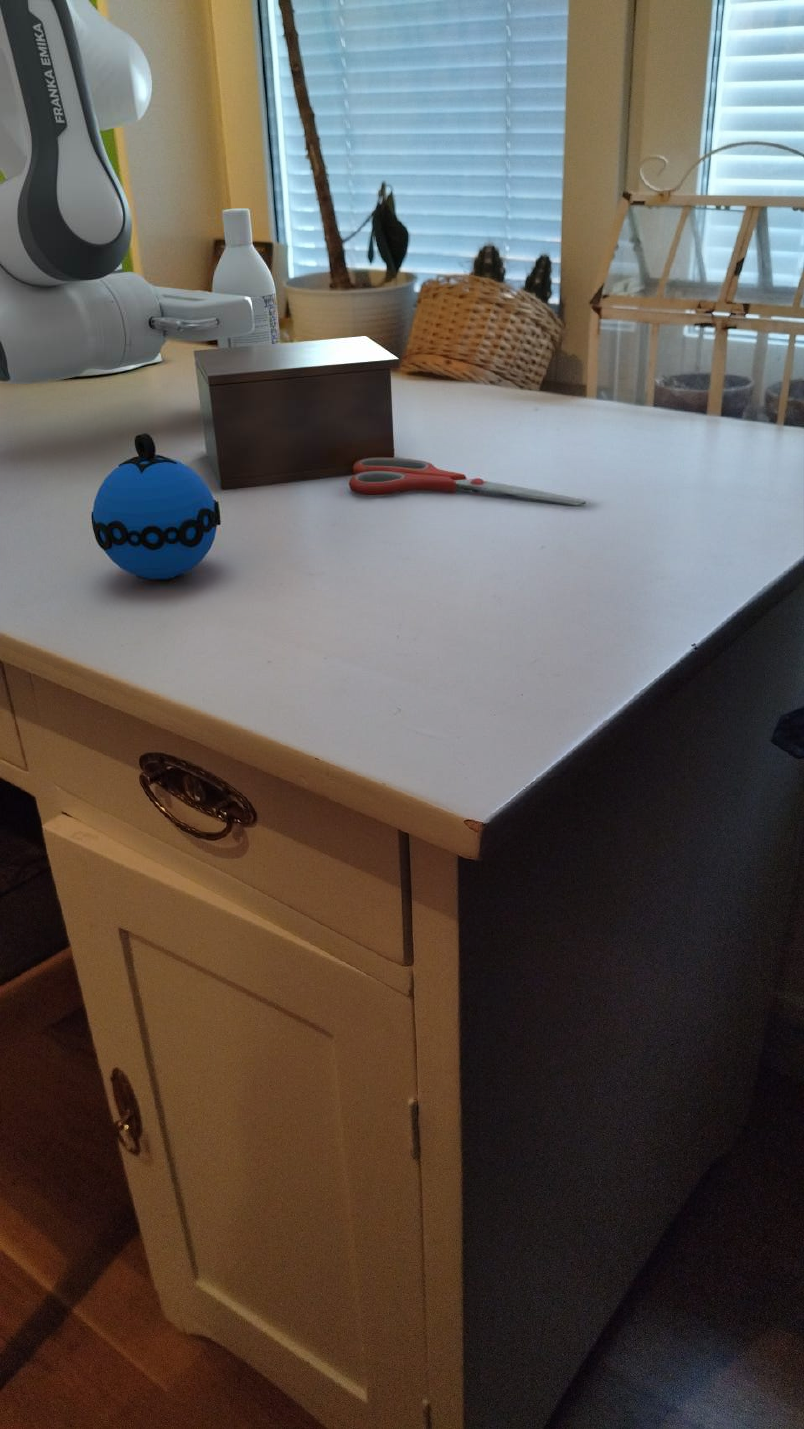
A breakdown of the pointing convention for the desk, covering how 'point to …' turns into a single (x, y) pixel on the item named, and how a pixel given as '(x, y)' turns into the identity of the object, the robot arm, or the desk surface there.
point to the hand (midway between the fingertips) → (232, 301)
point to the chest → (295, 426)
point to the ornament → (154, 515)
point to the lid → (293, 360)
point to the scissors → (432, 481)
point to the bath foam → (246, 279)
